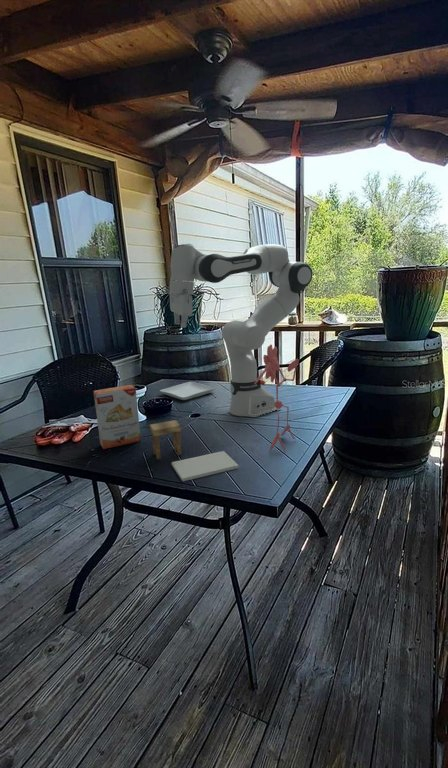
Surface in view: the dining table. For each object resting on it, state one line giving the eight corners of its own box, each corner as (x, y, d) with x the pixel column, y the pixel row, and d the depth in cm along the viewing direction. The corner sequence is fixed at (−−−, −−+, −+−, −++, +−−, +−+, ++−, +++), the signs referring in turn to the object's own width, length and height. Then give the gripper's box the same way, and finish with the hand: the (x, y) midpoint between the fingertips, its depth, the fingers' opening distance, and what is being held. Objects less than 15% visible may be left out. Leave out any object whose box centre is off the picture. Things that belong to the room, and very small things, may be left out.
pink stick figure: (305, 433, 148) (303, 338, 140) (279, 462, 127) (274, 352, 118) (267, 428, 156) (262, 338, 147) (236, 455, 135) (228, 351, 126)
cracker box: (103, 450, 143) (95, 394, 138) (100, 444, 149) (92, 390, 143) (141, 441, 149) (135, 387, 144) (137, 436, 155) (131, 383, 149)
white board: (223, 453, 135) (223, 450, 135) (238, 468, 125) (238, 465, 124) (171, 465, 129) (171, 462, 129) (182, 481, 118) (182, 478, 118)
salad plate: (183, 403, 193) (183, 396, 192) (159, 396, 209) (158, 389, 208) (216, 393, 207) (216, 387, 206) (191, 387, 222) (190, 381, 221)
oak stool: (178, 448, 142) (175, 420, 139) (182, 454, 136) (180, 425, 134) (152, 453, 139) (149, 424, 136) (156, 460, 133) (153, 430, 130)
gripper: (197, 290, 143) (195, 329, 147) (182, 288, 162) (181, 323, 165) (180, 289, 141) (178, 329, 145) (167, 287, 160) (166, 322, 163)
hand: (180, 325), depth 155 cm, fingers open, 8 cm apart
